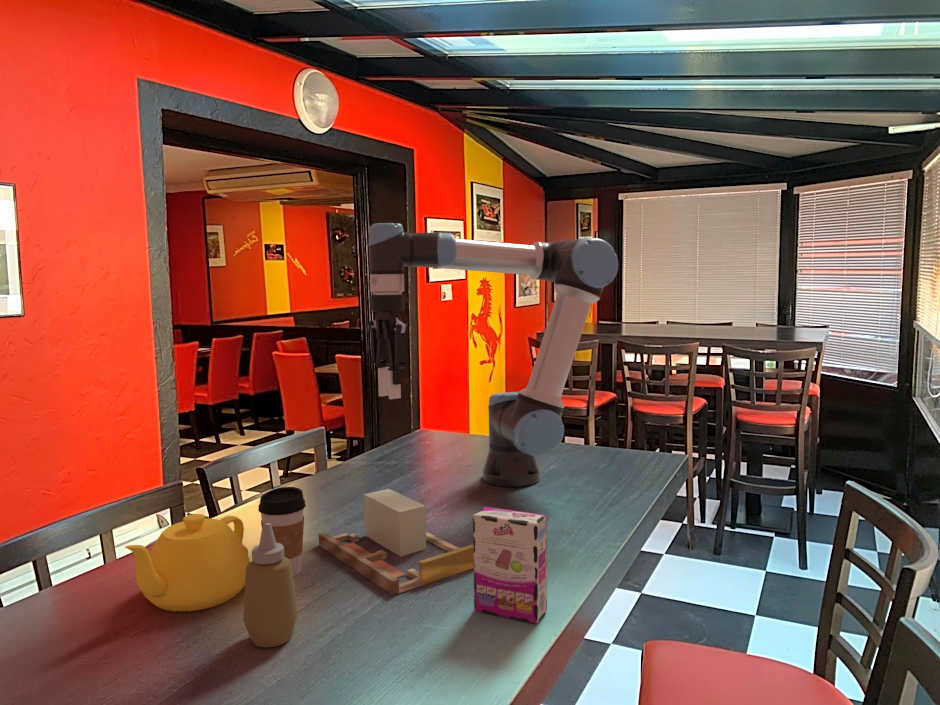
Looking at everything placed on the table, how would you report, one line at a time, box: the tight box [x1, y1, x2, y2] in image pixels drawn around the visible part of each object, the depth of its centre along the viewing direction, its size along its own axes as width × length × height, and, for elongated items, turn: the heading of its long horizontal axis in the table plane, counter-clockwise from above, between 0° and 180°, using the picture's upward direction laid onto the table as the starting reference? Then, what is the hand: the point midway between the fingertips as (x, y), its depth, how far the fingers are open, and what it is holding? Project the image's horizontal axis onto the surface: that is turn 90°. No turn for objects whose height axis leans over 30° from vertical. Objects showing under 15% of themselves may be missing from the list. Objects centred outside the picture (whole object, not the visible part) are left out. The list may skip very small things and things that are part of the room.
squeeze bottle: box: [242, 523, 299, 649], centre depth 107 cm, size 8×8×18 cm
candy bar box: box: [472, 506, 548, 624], centre depth 114 cm, size 11×5×16 cm, turn 65°
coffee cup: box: [257, 486, 306, 577], centre depth 130 cm, size 8×8×15 cm
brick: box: [363, 488, 427, 557], centre depth 145 cm, size 14×6×9 cm, turn 38°
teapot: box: [124, 513, 251, 613], centre depth 122 cm, size 25×18×14 cm
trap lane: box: [318, 531, 474, 596], centre depth 138 cm, size 28×20×4 cm
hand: (389, 396), depth 161 cm, fingers open, 4 cm apart
